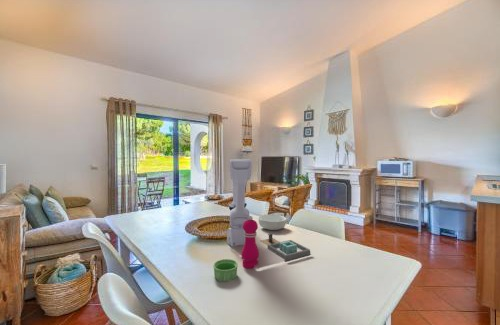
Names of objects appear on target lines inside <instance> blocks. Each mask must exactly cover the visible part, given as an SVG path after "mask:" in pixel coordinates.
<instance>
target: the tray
mask: <svg viewBox="0 0 500 325" xmlns="http://www.w3.org/2000/svg"><path fill="white" fill-rule="evenodd" d="M286 241H290V242H292V243H294V244H296V245H297V249H299V251H297V252H294V253H290V254H286V253H284V252H282V251H281V250H280V249H277V248H280V243H282V242H286ZM267 249H268V250H269V251H271V252H272V253H274V254H276V256H279V257H280V258H282V259H283V262H285V263H288V262H291V261H296V260H299V259H302V258H306V257H309V256H310V255H311V249H309V248H307V247H305V246H303V245H301V244H299V243H297V242H295V241H294V240H291V239H290V240H285V241H279V243H274V244H270V245H268V246H267Z"/></svg>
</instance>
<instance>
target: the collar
mask: <svg viewBox="0 0 500 325" xmlns="http://www.w3.org/2000/svg"><path fill="white" fill-rule="evenodd" d="M285 241H286V242H283V241H281V242H282V243H280V247H279V251H280V252H282V253H284V254H285V255H287V254H291V253H295V252H298V248H297V245H296V244H294V243H292V242H290V241H288V240H285Z"/></svg>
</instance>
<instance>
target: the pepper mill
mask: <svg viewBox="0 0 500 325" xmlns="http://www.w3.org/2000/svg"><path fill="white" fill-rule="evenodd" d="M257 222H258V221H256V220H254V219H253V216H251V215H250V216H249V217H248V220H246V221H245V222H244V223H243V229H244V231H245V232H244V236H245V244H244V245H243V247H242V249H241V255H240V256H241V258H242V267H243V268H246V269H251V270H252V269H256V266H257V265H258V263H259V260H258V259H259V257H260V252H259V251H260V250H259V248H258V245H257V243H256V236H257V230H258V228H259V226H258V225H259V224H258V223H257Z"/></svg>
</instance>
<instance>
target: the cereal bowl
mask: <svg viewBox="0 0 500 325" xmlns="http://www.w3.org/2000/svg"><path fill="white" fill-rule="evenodd" d="M286 224H287V218H286V217H285V216H283V215H279V214H263V215H259V216H258V225H259V227H261V228H263V229H265V230H268V231H278V230H281V229H284V228H285V227H286Z"/></svg>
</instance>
